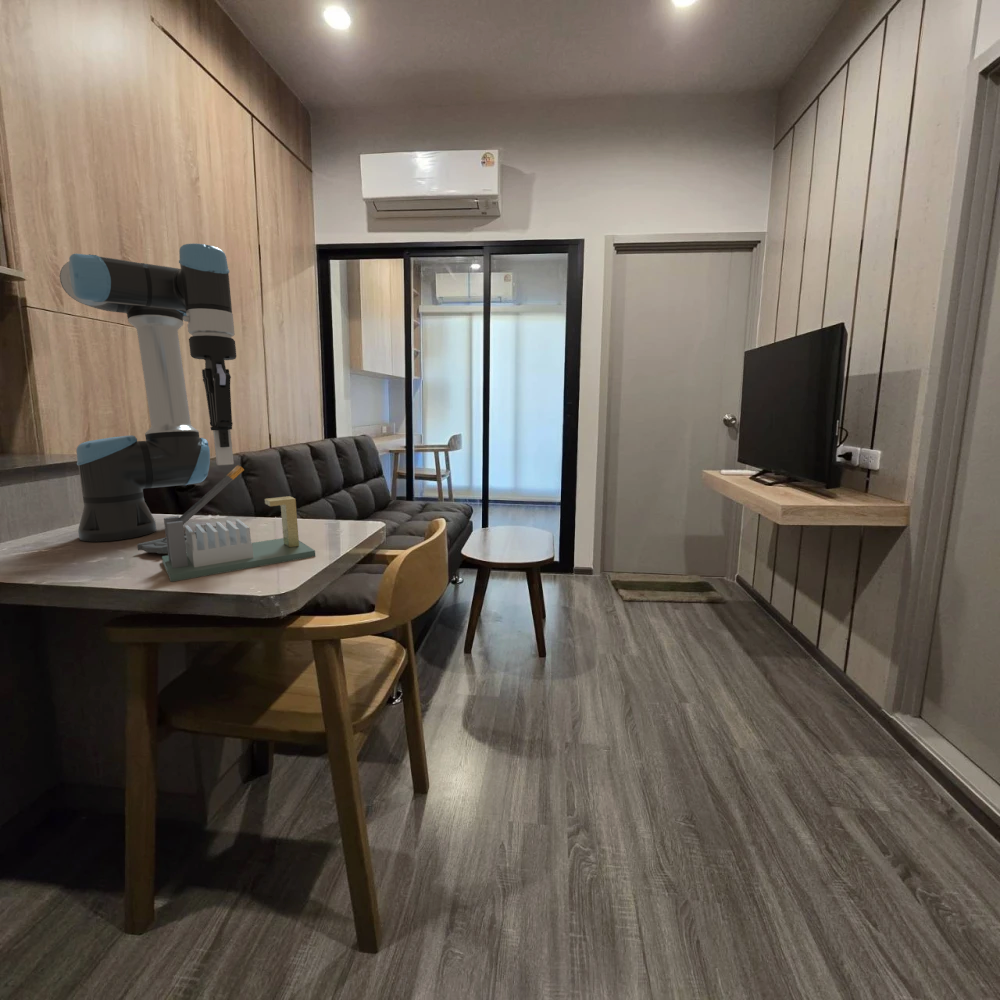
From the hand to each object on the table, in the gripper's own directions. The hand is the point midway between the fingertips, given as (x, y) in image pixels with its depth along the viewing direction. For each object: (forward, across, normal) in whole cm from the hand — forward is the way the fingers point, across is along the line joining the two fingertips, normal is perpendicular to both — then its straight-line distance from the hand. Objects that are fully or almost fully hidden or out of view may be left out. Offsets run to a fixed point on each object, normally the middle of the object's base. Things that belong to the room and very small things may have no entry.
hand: (225, 464), depth 99 cm
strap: (+7, 0, -3) cm, 7 cm away
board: (+19, 0, +1) cm, 19 cm away
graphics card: (+20, -19, -6) cm, 28 cm away
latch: (+18, 0, +10) cm, 20 cm away
